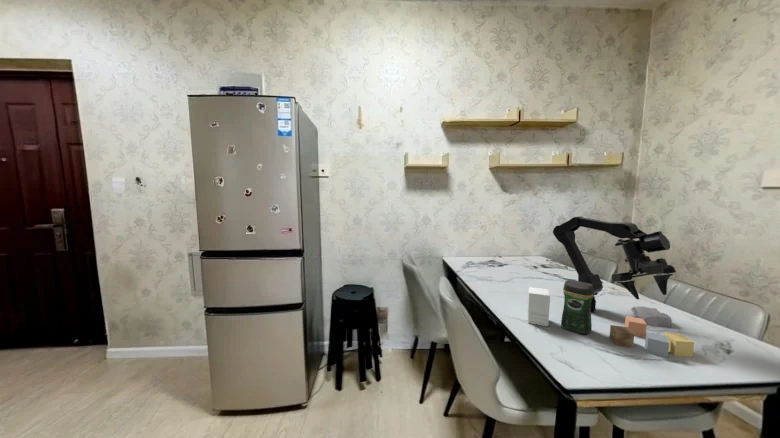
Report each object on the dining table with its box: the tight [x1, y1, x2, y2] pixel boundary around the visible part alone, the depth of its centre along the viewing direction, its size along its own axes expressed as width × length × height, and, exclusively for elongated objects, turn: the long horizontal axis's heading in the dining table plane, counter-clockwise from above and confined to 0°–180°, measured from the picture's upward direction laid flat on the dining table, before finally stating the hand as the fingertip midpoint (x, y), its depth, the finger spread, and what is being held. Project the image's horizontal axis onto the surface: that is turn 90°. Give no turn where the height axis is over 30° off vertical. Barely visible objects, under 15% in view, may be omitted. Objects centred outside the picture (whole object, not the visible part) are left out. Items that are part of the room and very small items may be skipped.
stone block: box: [630, 305, 673, 327], centre depth 117 cm, size 12×5×10 cm
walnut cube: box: [609, 324, 635, 349], centre depth 100 cm, size 5×5×5 cm
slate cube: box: [644, 331, 669, 358], centre depth 95 cm, size 5×5×5 cm
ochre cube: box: [663, 332, 695, 358], centre depth 94 cm, size 5×5×5 cm
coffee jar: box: [560, 279, 595, 335], centre depth 108 cm, size 10×8×19 cm
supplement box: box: [526, 286, 551, 327], centre depth 115 cm, size 7×7×13 cm
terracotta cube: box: [624, 315, 648, 338], centre depth 106 cm, size 5×5×5 cm
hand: (651, 297), depth 105 cm, fingers open, 9 cm apart
